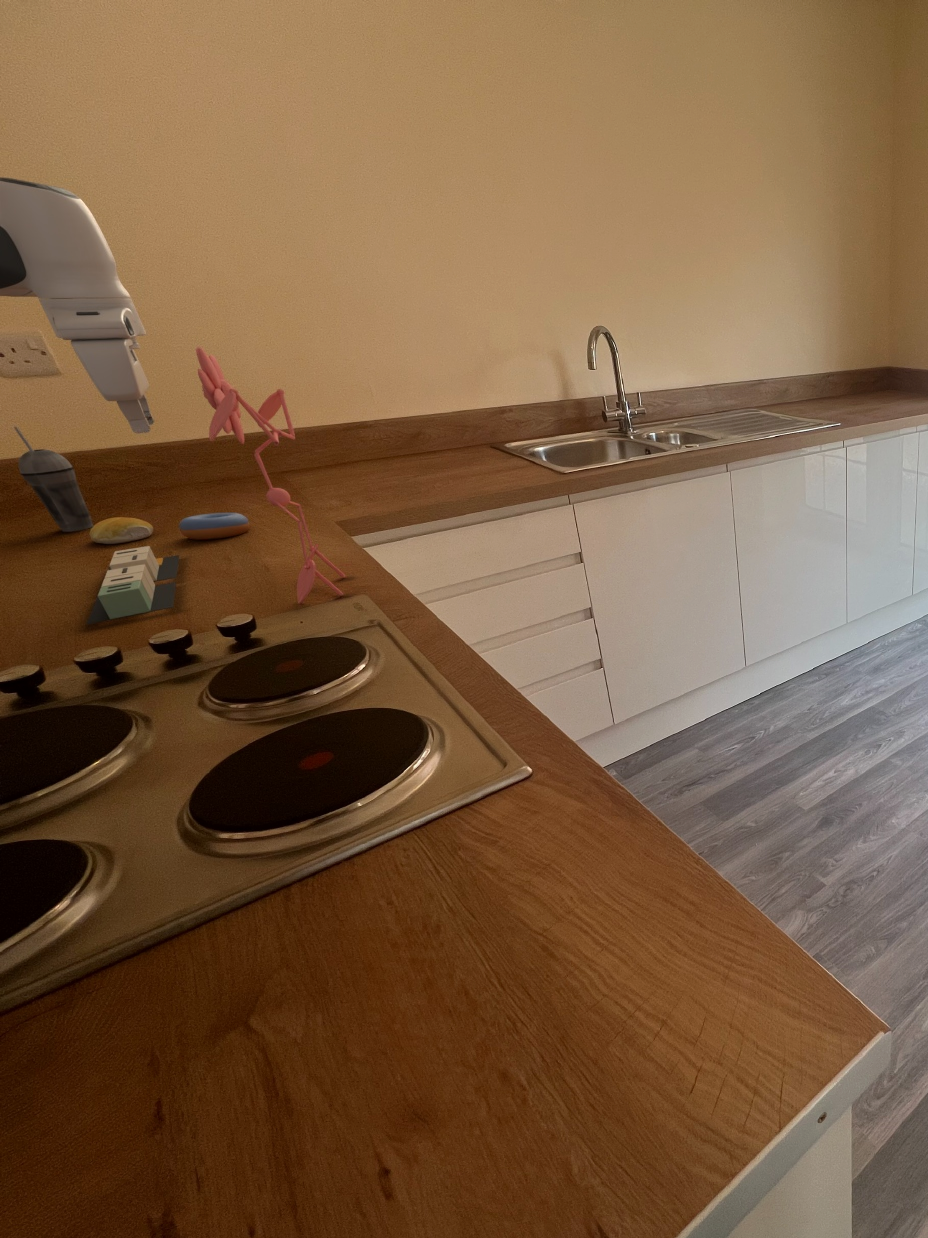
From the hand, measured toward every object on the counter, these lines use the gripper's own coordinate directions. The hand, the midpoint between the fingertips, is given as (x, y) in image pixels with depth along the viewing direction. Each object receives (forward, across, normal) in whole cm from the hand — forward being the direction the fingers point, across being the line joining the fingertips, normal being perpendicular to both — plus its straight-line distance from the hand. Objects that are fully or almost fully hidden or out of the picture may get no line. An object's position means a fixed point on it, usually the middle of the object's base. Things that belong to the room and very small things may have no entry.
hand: (145, 428), depth 100 cm
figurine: (+24, +14, +9) cm, 29 cm away
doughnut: (+24, -32, +1) cm, 40 cm away
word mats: (+24, -6, -9) cm, 27 cm away
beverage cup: (+24, -60, -21) cm, 68 cm away
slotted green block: (+24, +8, -9) cm, 26 cm away
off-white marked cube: (+24, -14, -9) cm, 29 cm away
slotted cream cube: (+24, -9, -9) cm, 27 cm away
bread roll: (+24, -44, -13) cm, 52 cm away
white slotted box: (+24, +3, -9) cm, 25 cm away
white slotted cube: (+24, -2, -9) cm, 25 cm away
